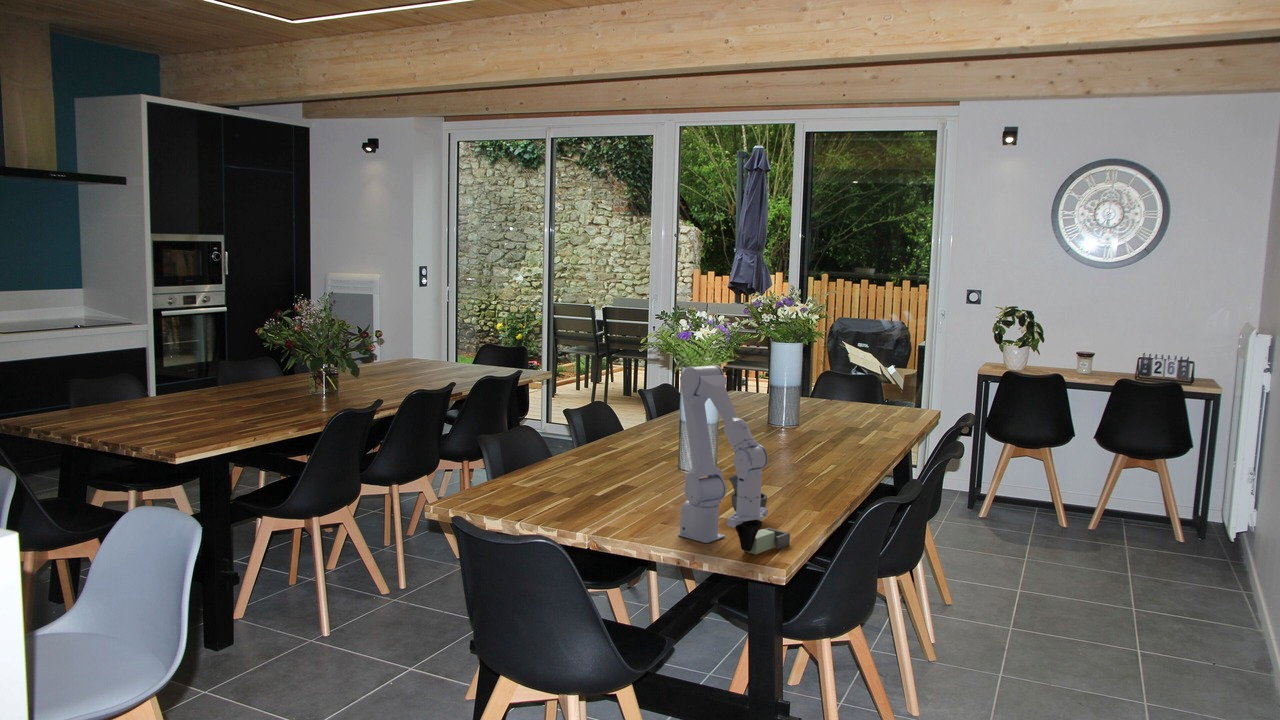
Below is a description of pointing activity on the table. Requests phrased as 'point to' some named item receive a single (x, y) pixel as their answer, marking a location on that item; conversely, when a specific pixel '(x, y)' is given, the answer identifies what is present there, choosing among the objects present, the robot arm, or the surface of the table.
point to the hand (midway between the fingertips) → (746, 550)
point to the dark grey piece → (780, 538)
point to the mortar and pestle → (734, 496)
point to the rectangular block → (763, 541)
